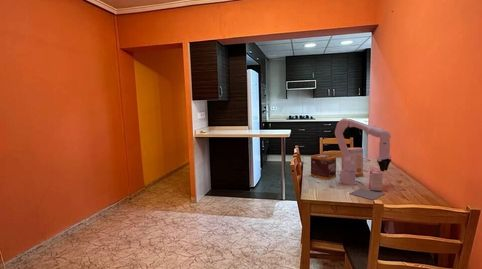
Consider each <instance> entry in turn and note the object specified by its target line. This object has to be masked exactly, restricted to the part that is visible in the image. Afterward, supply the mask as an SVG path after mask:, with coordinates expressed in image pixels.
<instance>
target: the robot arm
mask: <svg viewBox="0 0 482 269" xmlns="http://www.w3.org/2000/svg"><path fill="white" fill-rule="evenodd" d="M347 128H357V129H360V130H363V131H365V132H366V133H367V135H370V136H373V137H375V138H379V146H378V148H379V151H378V152H379V153H378V157H377V158H376V162H377V164H378V167H379V169H380V172H382V173H384V172H385V171H388V169H389V166H390V163H391V162H392V155H391V154H390V150H391V149H390V146H391V143H390V142H391V141H390V139H391V137H392V136H391V134H390V133H391V132H389V131H387V130H386V129H384V128H379V127H377V126H376V125H369V126H368V125H365V124H363V123H360V122H358V121H356V120H353V119H347V118H341V119H340V120H339V121H337V123H336V127H335V130H334V135H335V139H336V142H337V144H338V148H339V150H340V153H341V157H342V156H343V160H344V168H345V169H342V168H341V170H340V171H339V183H340V184H345V185H348V186H354V185H357V184H359V182H357V181H356V176H355V169H354V168H355V162H354V161H353V160H352V158H351V156H350V153H349V151H348V148H349V147H348V146H347V143H346V139H345V136H344V132H345V130H346V129H347Z"/></svg>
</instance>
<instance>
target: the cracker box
mask: <svg viewBox="0 0 482 269" xmlns="http://www.w3.org/2000/svg"><path fill="white" fill-rule="evenodd" d="M347 148H348V151H349V153H350V156H351V158H352V160H353V161H354V162H355V168H354V169H355V177H364V148H362V147H347ZM342 169H345V168H344V160H343V156H342V155H341V170H342Z"/></svg>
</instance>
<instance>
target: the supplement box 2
mask: <svg viewBox="0 0 482 269" xmlns="http://www.w3.org/2000/svg"><path fill="white" fill-rule="evenodd" d="M383 174H384V172H383V171H379V170H370V171H369V179H368V180H369V181H368V182H369V184H368V190H370V191H375V192H382V191H383V190H382V189H383V179H384V178H383V177H384V176H383Z"/></svg>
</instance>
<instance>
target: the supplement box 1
mask: <svg viewBox="0 0 482 269" xmlns="http://www.w3.org/2000/svg"><path fill="white" fill-rule="evenodd" d="M310 176H311V177H315V178H320V179H323V180H327V181H329V180H331V179H335V178H337V156H333V155H328V154H320V153H319V154H314V155H311V156H310Z"/></svg>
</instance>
